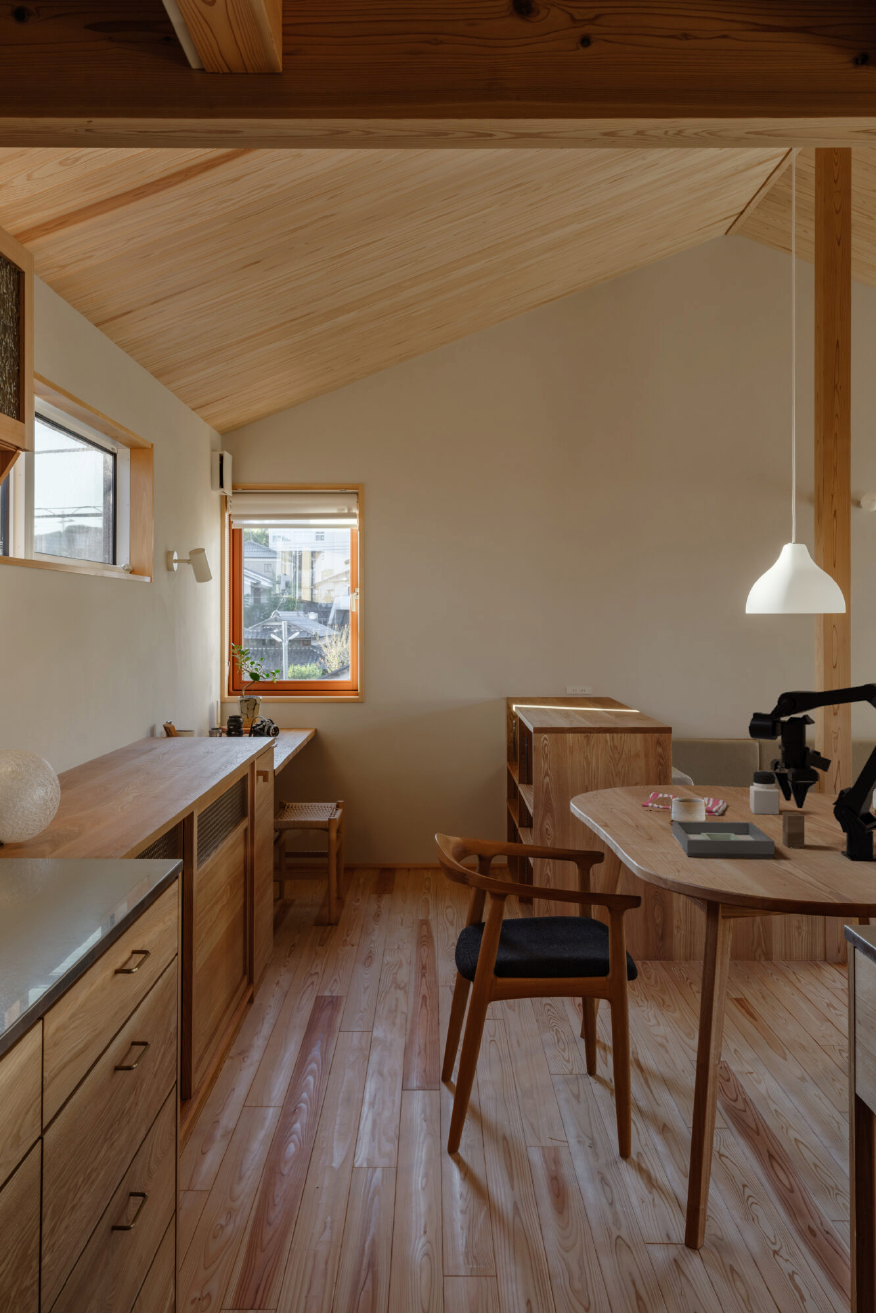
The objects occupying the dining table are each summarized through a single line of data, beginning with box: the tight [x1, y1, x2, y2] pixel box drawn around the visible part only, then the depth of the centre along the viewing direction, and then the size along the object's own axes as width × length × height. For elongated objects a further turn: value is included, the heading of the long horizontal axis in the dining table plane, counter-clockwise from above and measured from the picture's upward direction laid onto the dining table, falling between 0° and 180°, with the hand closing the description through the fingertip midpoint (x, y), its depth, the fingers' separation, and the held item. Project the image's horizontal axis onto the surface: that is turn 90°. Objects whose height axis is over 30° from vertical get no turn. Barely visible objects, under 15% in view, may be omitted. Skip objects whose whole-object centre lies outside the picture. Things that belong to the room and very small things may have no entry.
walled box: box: [672, 821, 775, 859], centre depth 208 cm, size 20×20×4 cm
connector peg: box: [782, 811, 805, 849], centre depth 208 cm, size 4×4×8 cm
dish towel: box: [641, 791, 728, 817], centre depth 255 cm, size 17×23×4 cm
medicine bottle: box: [749, 770, 780, 816], centre depth 248 cm, size 7×7×12 cm
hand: (793, 804), depth 208 cm, fingers open, 9 cm apart
